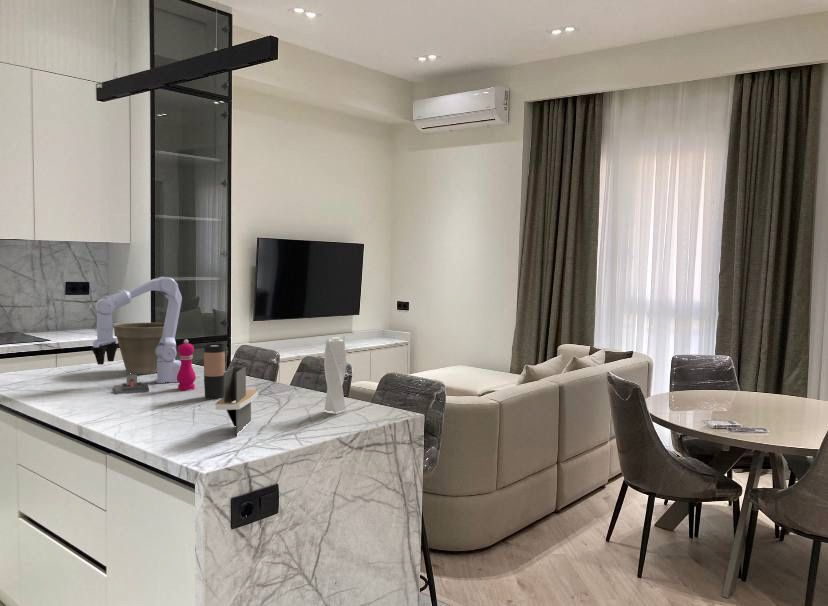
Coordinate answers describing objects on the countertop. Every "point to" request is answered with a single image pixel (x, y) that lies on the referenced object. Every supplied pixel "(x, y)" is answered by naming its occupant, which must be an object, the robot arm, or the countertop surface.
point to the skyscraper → (335, 373)
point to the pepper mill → (186, 367)
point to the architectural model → (237, 397)
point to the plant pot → (139, 345)
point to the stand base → (131, 388)
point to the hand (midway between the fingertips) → (105, 362)
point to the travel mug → (214, 370)
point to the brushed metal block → (131, 379)
